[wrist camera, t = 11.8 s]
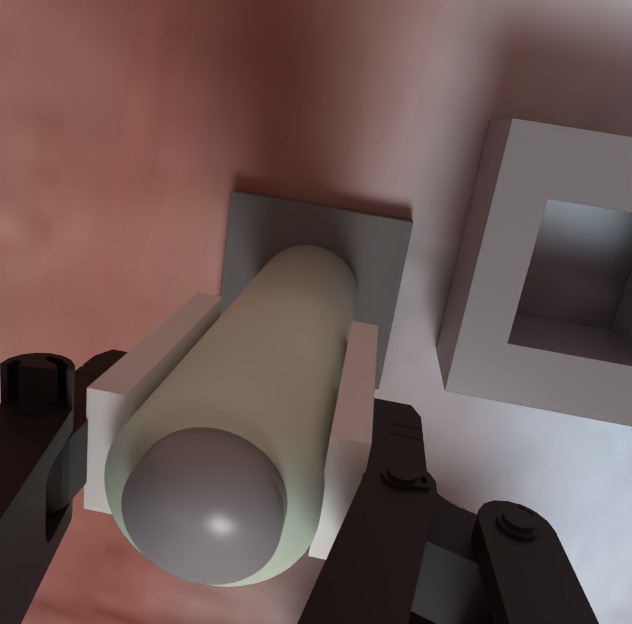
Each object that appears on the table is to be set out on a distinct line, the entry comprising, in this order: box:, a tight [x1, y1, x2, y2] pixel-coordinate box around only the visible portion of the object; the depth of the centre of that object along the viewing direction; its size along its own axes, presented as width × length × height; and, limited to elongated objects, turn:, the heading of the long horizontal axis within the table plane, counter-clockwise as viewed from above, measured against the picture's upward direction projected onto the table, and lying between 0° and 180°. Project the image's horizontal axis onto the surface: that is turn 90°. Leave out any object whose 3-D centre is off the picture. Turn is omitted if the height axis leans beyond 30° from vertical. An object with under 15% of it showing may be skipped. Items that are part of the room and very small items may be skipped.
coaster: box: [220, 190, 413, 389], centre depth 23 cm, size 7×7×1 cm
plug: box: [104, 245, 358, 587], centre depth 16 cm, size 4×4×14 cm
